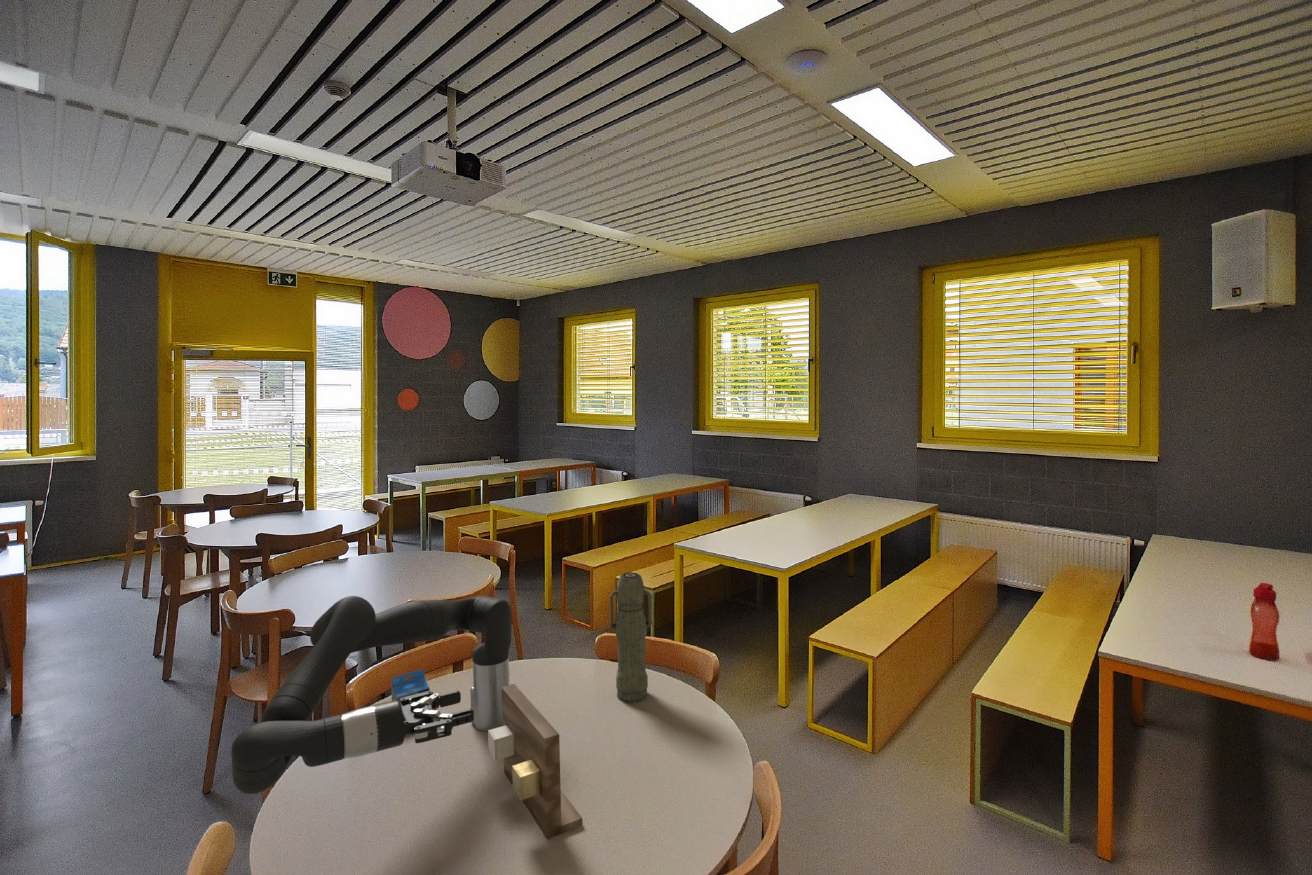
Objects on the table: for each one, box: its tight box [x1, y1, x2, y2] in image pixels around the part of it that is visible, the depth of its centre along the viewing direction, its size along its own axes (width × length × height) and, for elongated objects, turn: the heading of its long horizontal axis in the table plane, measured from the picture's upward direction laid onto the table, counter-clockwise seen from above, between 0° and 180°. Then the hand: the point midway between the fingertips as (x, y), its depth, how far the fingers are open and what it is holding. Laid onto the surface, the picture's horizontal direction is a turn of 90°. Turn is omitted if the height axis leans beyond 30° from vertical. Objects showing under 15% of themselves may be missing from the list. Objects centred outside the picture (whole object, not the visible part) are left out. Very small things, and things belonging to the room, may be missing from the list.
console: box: [501, 683, 583, 840], centre depth 135 cm, size 8×26×20 cm, turn 32°
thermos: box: [609, 571, 653, 704], centre depth 180 cm, size 9×12×35 cm
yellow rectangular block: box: [512, 759, 542, 801], centre depth 126 cm, size 8×5×5 cm, turn 122°
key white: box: [487, 725, 514, 762], centre depth 139 cm, size 8×5×5 cm, turn 122°
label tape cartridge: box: [390, 668, 431, 702], centre depth 168 cm, size 9×4×12 cm, turn 129°
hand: (466, 704), depth 118 cm, fingers open, 8 cm apart
